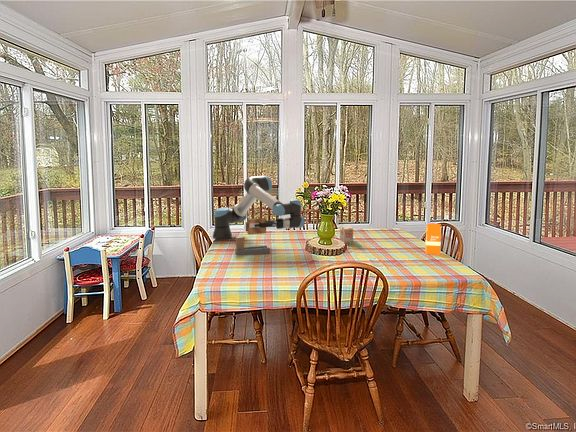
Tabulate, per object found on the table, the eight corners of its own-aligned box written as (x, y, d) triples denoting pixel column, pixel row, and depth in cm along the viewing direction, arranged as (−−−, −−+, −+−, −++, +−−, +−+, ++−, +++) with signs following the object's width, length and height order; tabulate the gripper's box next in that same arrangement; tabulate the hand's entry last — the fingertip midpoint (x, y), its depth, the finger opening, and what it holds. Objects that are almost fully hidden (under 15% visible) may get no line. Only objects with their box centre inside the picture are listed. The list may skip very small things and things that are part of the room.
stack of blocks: (339, 239, 350) (339, 223, 349) (347, 239, 351) (348, 223, 349) (344, 245, 329) (344, 228, 327) (353, 245, 330) (353, 228, 328)
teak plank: (246, 234, 303) (246, 219, 301) (245, 233, 307) (245, 219, 305) (266, 233, 307) (265, 218, 305) (264, 232, 311) (264, 217, 309)
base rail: (237, 255, 301) (237, 238, 299) (235, 252, 309) (234, 236, 308) (269, 252, 307) (269, 236, 305) (266, 249, 316) (266, 234, 314)
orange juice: (440, 254, 300) (441, 224, 297) (426, 254, 302) (427, 224, 299) (438, 251, 308) (440, 222, 305) (425, 251, 310) (426, 222, 307)
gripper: (285, 230, 304) (251, 232, 297) (278, 226, 320) (246, 228, 313) (285, 219, 303) (251, 221, 296) (278, 216, 319) (246, 217, 312)
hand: (248, 225), depth 304 cm, fingers closed on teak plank, 4 cm apart
